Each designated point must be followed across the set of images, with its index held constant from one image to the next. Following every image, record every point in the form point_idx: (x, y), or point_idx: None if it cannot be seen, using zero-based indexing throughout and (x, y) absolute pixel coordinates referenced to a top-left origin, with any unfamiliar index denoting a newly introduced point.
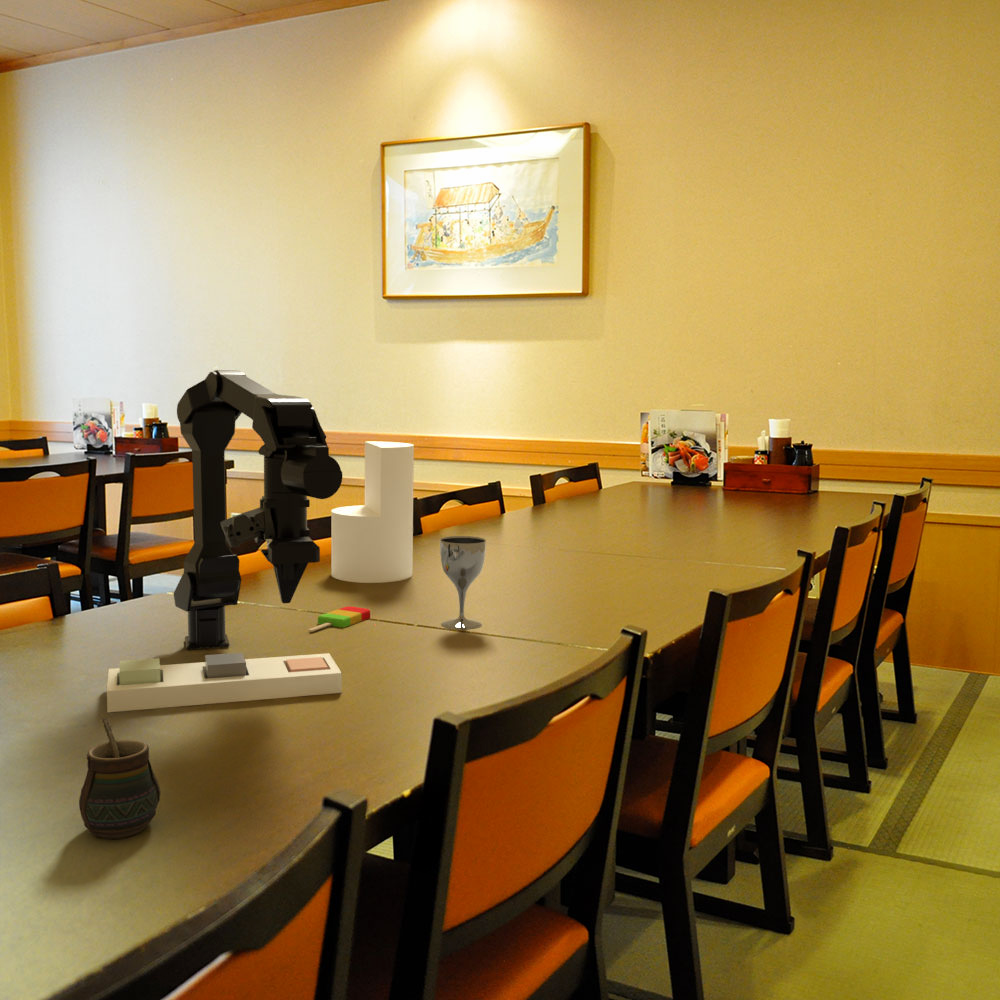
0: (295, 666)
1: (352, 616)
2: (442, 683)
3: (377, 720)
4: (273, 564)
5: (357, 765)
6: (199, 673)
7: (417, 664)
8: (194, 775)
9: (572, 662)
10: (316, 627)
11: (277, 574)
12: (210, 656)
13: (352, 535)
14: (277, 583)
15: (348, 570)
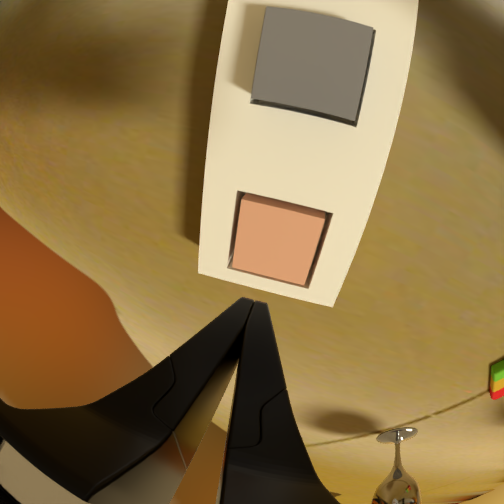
0: (260, 215)
1: (494, 384)
2: None
3: (98, 242)
4: (50, 411)
5: (16, 178)
6: (316, 6)
7: (296, 375)
8: (24, 31)
9: None
10: None
11: (138, 385)
12: (353, 33)
13: None
14: (267, 361)
15: None
